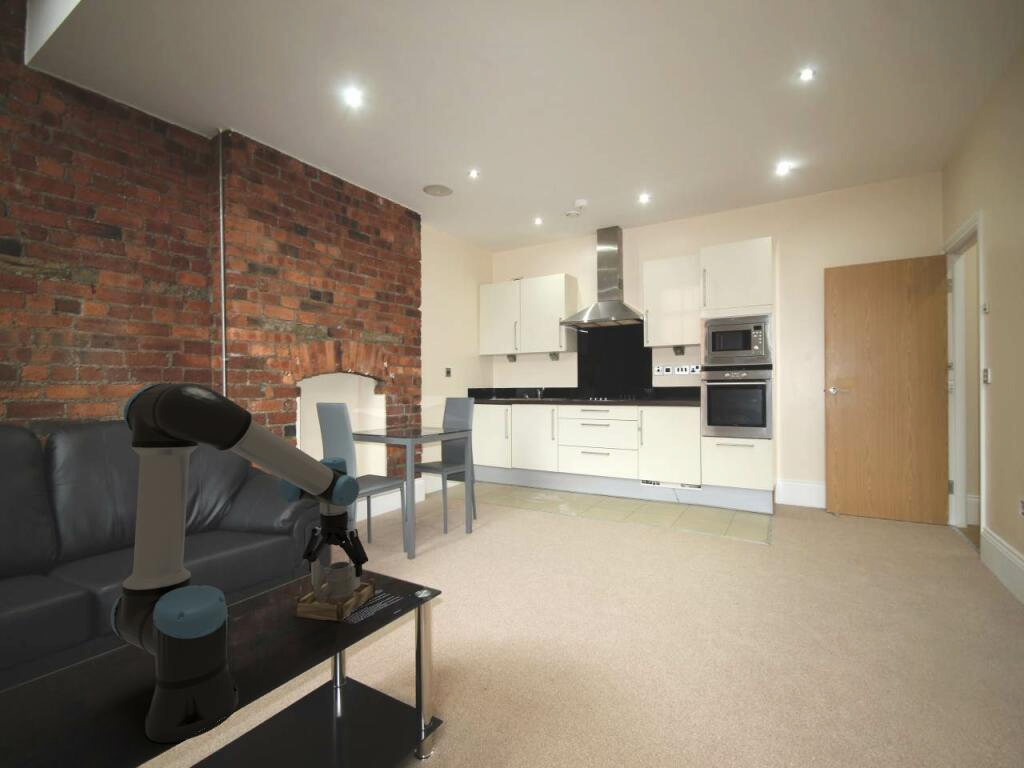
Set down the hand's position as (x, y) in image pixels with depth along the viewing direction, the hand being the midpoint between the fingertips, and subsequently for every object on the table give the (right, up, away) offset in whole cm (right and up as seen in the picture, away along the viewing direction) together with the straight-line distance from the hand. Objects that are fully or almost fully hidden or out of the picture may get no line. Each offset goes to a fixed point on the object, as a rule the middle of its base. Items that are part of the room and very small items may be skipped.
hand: (335, 585), depth 142 cm
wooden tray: (0, -6, 0) cm, 6 cm away
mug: (-1, -5, 0) cm, 5 cm away
